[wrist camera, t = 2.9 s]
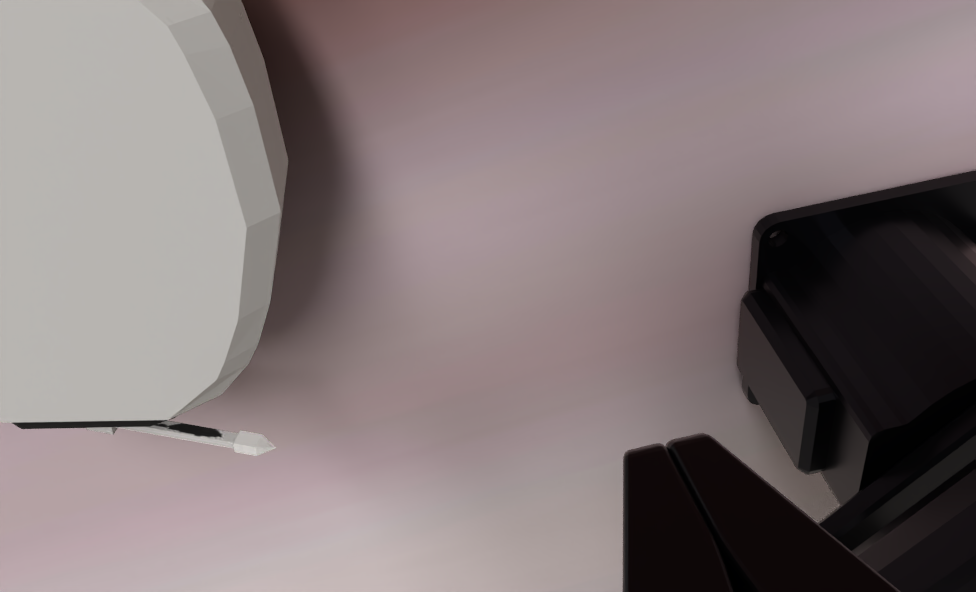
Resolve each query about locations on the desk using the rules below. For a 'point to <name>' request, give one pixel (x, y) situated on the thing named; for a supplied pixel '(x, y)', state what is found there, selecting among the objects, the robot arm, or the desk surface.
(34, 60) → the robot toy
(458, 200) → the desk surface
